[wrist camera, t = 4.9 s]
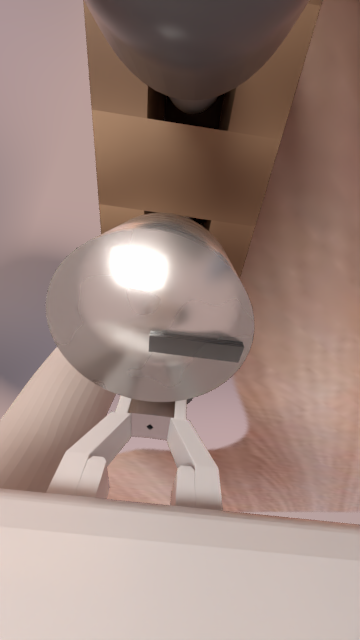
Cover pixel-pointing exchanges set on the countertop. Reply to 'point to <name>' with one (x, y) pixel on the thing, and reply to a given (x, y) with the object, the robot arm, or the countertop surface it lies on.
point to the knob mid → (151, 310)
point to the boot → (47, 423)
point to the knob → (195, 42)
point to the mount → (191, 142)
